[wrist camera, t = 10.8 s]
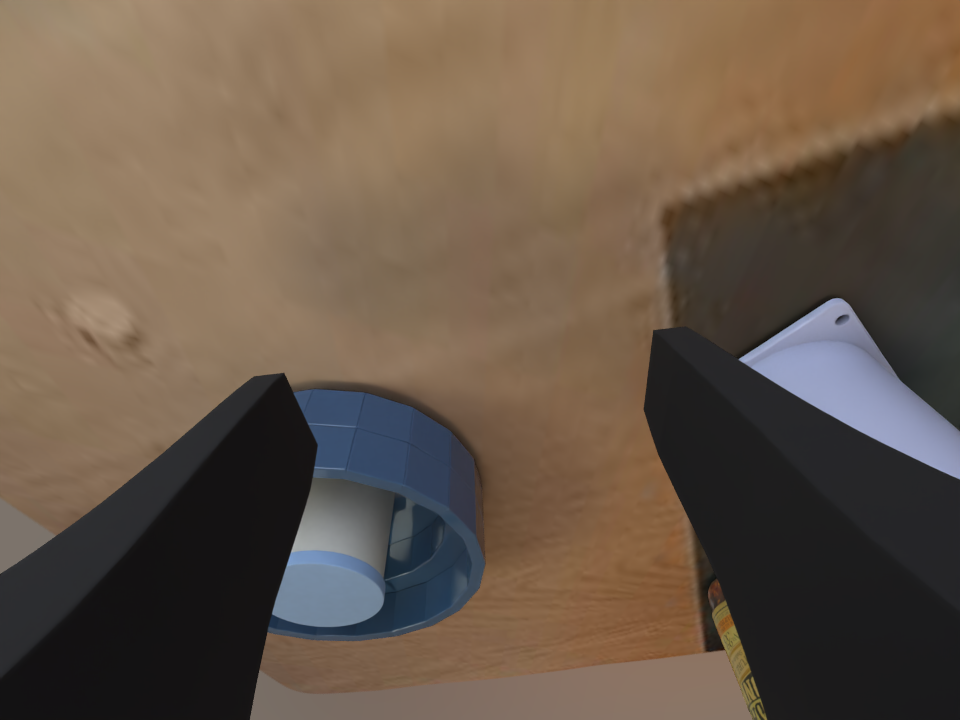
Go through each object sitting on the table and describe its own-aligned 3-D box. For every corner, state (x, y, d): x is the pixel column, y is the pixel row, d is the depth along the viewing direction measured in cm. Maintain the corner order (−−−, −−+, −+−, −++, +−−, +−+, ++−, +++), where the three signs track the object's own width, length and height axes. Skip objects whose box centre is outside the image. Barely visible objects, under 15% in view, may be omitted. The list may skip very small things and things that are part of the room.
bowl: (534, 474, 25) (548, 561, 21) (378, 579, 31) (366, 663, 27) (300, 325, 19) (258, 408, 15) (161, 491, 25) (105, 582, 21)
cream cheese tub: (418, 488, 25) (409, 593, 20) (358, 534, 27) (338, 638, 23) (328, 440, 23) (295, 547, 18) (271, 495, 25) (229, 602, 20)
